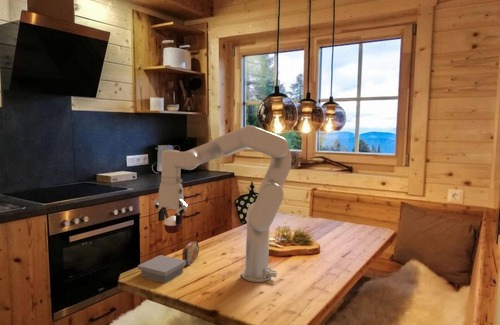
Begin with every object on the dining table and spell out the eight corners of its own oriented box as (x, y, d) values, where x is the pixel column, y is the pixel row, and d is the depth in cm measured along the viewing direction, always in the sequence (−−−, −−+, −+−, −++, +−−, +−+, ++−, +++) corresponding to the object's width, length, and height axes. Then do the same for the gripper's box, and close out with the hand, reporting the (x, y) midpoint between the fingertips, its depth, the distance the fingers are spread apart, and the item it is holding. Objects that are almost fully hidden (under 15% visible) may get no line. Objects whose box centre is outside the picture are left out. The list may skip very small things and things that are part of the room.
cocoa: (183, 234, 148) (186, 205, 147) (170, 236, 144) (173, 206, 143) (170, 227, 155) (172, 200, 154) (157, 229, 150) (159, 201, 149)
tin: (187, 268, 159) (187, 249, 158) (180, 267, 160) (181, 248, 159) (199, 256, 174) (199, 239, 173) (193, 255, 175) (193, 238, 174)
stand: (186, 272, 155) (186, 260, 154) (165, 284, 142) (165, 272, 142) (160, 265, 161) (160, 254, 160) (137, 277, 148) (137, 265, 148)
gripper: (194, 181, 147) (192, 223, 149) (159, 177, 154) (158, 217, 156) (183, 184, 140) (181, 228, 142) (147, 179, 147) (147, 221, 149)
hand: (169, 222), depth 149 cm, fingers closed on cocoa, 8 cm apart
